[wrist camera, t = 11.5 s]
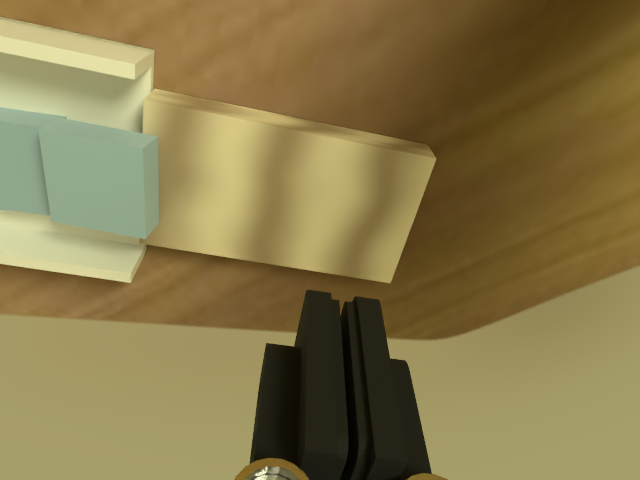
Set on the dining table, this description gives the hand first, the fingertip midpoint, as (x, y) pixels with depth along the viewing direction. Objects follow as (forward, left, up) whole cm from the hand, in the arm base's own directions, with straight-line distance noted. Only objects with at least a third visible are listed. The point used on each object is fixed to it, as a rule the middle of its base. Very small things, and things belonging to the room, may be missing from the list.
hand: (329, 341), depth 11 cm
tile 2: (+11, +7, -20) cm, 24 cm away
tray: (+15, +7, -22) cm, 28 cm away
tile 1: (+17, +8, -22) cm, 29 cm away
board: (0, +7, -22) cm, 23 cm away
